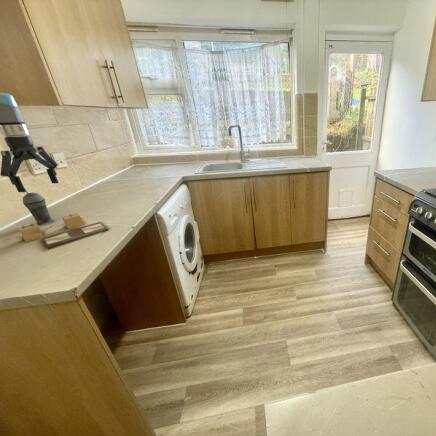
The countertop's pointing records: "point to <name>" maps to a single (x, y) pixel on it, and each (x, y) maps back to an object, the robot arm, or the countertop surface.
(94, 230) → the word board
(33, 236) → the tan toy block
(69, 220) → the tan wooden cube
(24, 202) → the beverage cup
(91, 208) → the countertop surface
